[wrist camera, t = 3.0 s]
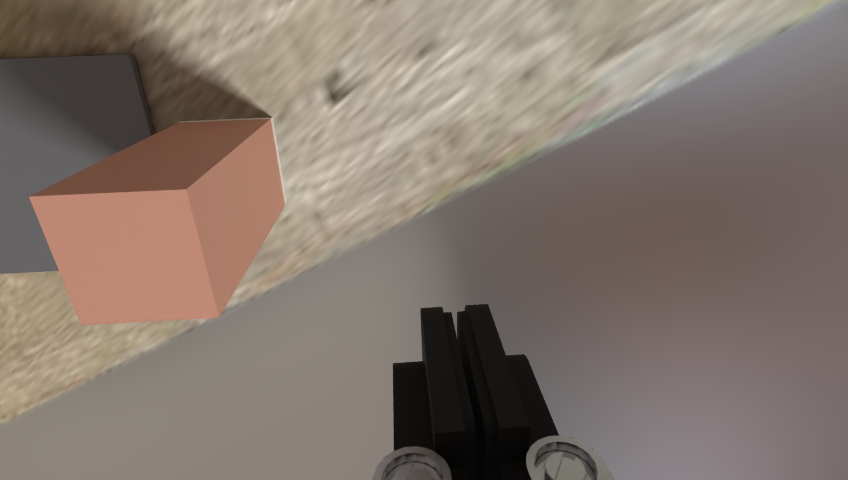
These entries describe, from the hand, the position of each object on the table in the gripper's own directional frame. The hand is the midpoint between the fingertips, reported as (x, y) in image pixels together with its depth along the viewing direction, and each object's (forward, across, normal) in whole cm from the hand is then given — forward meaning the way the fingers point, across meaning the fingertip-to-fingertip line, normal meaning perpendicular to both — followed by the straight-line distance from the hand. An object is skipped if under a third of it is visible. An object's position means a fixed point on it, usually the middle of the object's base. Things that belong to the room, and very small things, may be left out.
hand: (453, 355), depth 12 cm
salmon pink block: (+18, +10, -1) cm, 21 cm away
